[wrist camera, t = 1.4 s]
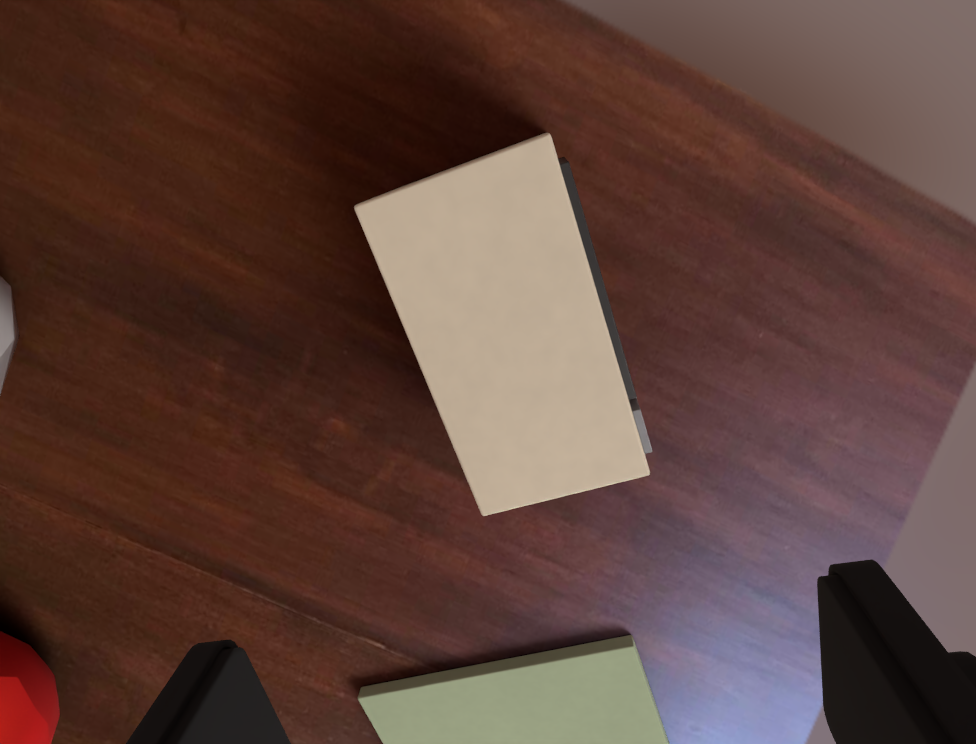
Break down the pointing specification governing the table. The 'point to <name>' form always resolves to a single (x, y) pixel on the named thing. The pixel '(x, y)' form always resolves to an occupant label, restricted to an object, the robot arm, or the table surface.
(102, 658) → the table surface
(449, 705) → the mat
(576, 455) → the toy oven
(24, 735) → the tomato
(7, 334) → the potion bottle
